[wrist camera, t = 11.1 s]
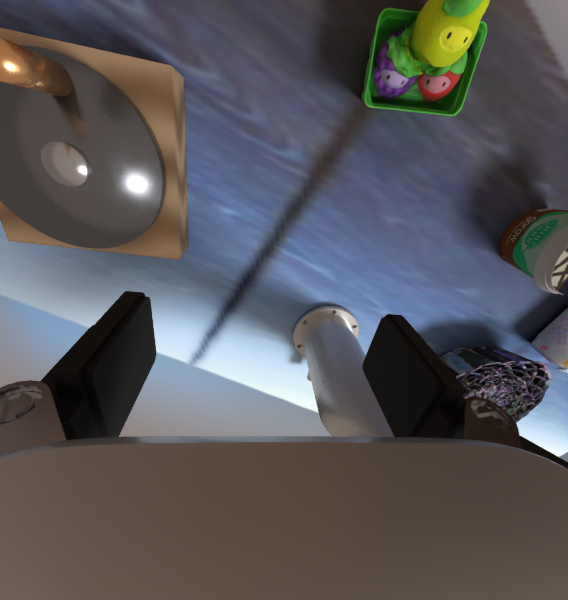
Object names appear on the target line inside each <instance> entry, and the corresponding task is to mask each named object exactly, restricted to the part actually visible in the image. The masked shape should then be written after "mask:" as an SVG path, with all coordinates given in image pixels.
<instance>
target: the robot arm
mask: <svg viewBox="0 0 568 600" xmlns="http://www.w3.org/2000/svg"><path fill="white" fill-rule="evenodd" d="M358 335H359V325H358V322H357V320H356V319H355V317H354V316H353V314H352V313H351V312H349V311H348V310H346V309H344V308H342V307H339V306H322V307H318V308H315V309H313V310H311V311H309V312H307V313H306V314H305V315H304V316H302V317H301V318H300V320H299V321H298V322H297V324H296V326H295V328H294V331H293V340H294V345H295V347H296V349H297V351H298V352H299V353H300V354H301V355H303V356H304V357H306V360H307V365H308V369H309V371H308V375H307V379H308V380H309V381H311V382H312V386H313V390H314V394H315V399H316V403H317V407H318V411H319V415H320V418H321V421H322V423H323V425H324V427H325V428H326V430H327V431H328V432H329V433H330V434H331V435H332V436H333V437H330V436H329V437H328V436H327V437H326V436H325V437H324V436H323V437H322V436H145V437H119V435H120V433H121V430H122V428H123V426H124V424H125V422H126V420H127V418H128V416H129V414H130V412H131V410H132V407H133V405H134V403H135V401H136V399H137V397H138V395H139V393H140V391H141V389H142V387H143V384H144V382H145V380H146V378H147V376H148V374H149V372H150V370H151V368H152V366H153V364H154V361H155V358H156V346H155V337H154V328H153V320H152V311H151V302H150V298H149V297H145V294H144V293H142V292H130V291H126V292H124V293H123V294H122V295H121V296H120V298H119V299H118V300H117V301H116V302H115V303H114V304H113V305H112V306H111V307H110V308H109V310H108V311H107V312H106V313H105V314H104V315H103V316H102V317H101V318H100V319H99V320H98V322H97V323H96V324H95V325H93V326H92V327H90V328H89V329H88V330H87V331H86V332H85V334H84V335H83V336H82V337H81V338H80V339H79V340H78V341H77V342H76V343H75V344H74V345H73V347H72V348H71V349H70V350H69V351H68V352H67V353H66V354H65V355H64V356H63V357H62V358H61V359H60V361H59V362H58V363H57V364H56V365H55V366H54V367H53V368H52V369H51V370H50V371H49V372H48V373H47V375H46V376H45V377H44V378H43V379H42V380H41V381H21V382H16V383H12V384H8V385H6V386H3V387H1V388H0V600H568V462H566V461H564V460H563V459H561V458H559V457H557V456H555V455H554V454H552V453H550V452H548V451H547V450H545V449H543V448H541V447H539V446H538V445H536V444H534V443H532V442H531V441H529V440H527V439H525V438H523V437H522V436H520V435H519V431H518V427H517V424H516V422H515V421H514V420H513V418H512V417H511V416H510V415H509V414H508V413H507V412H506V411H505V410H504V409H502V408H501V407H500V406H498V405H497V404H495V403H493V402H492V401H490V400H487V399H485V398H482V397H478V396H470V397H468V398H467V399H465V398H464V397H463V394H464V392H465V391H466V390H467V389H466V388H465V387H464V386H463V385H462V384H461V382H460V381H459V380H458V379H457V378H456V377H455V376H454V374H453V373H452V372H451V371H450V370H449V369H448V367H447V366H446V365H445V364H444V363H443V362H442V361H441V359H440V358H439V357H438V356H437V355H436V354H435V353H434V351H433V350H432V349H431V348H430V347H429V346H428V345H427V343H426V342H425V341H424V340H423V339H422V338H421V336H420V335H419V334H418V333H417V332H416V331H415V330H414V328H413V327H412V326H411V325H410V324H409V323H408V322H407V320H406V319H405V318H404V317H403V316H402V315H392V314H388V315H386V316H385V317H383V318H382V319H381V321H380V323H379V326H378V328H377V330H376V333H375V335H374V338H373V340H372V342H371V345H370V347H369V350H368V352H367V354H366V356H365V354H364V352H363V350H362V348H361V346H360V344H359V342H358V340H357V339H358Z"/></svg>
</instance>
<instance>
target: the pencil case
mask: <svg viewBox="0 0 568 600" xmlns="http://www.w3.org/2000/svg"><path fill="white" fill-rule="evenodd" d="M531 346H532V347H533V348H534V349H535V350H536V351H537V352H538V353H540V354H541V355H542V356H543V357H545V358H546V359H547V360H549V361H550V362H552V363H553V364H555V365H557V366H559V367H561V368H557V369H559V370H561V371H563V372H565V373H568V307H567V309H566V310H564V311H563V312H562V313H561V314H560V315H559V316H558V317H557V318H556V319H555V320H553V321H552V322H551V323H550V324H549V325H548V326H547V327H546V328H545V329H544V330H543V331H541V332H540V333H539V334H538V335H537V337H536V338H535V339H534V340H533V341H532V343H531Z"/></svg>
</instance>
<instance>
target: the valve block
mask: <svg viewBox="0 0 568 600" xmlns="http://www.w3.org/2000/svg"><path fill="white" fill-rule="evenodd" d="M0 37H1V38H4V39H6V40H8V41H10V42H13V43H15V44H17V45H26V46H37V47H42V48H46V49H51V50H54V51H57V52H59V53H62V54H65V55H67V56H69V57H71V58H73V59H76V60H78V61H80V62H82V63H83V64H85V65H87V66H89V67H91V68H93V69H95V70H96V71H98V72H99V73H101V74H102V75H104V76H105V77H107V78H108V79H109V80H110V81H111V82H113V83H114V84H115V85H116V86H118V87H119V88H120V89H121V90H122V91H123V92H124V93H125V94H126V95H127V96H128V97H129V98H130V99H131V101H132V102H133V103H134V104H135V105H136V107H137V108H138V109H139V110H140V112H141V113H142V115H143V116H144V118H145V119H146V121H147V122H148V124H149V126H150V127H151V129H152V131H153V133H154V135H155V137H156V139H157V142H158V144H159V147H160V149H161V153H162V156H163V159H164V164H165V170H166V183H167V184H166V195H165V200H164V204H163V207H162V209H161V212H160V214H159V216H158V217H157V219H156V221H155V222H154V223H153V224H152V225H151V227H150V228H149V229H147V230H146V231H145V232H144V233H143V234H141V235H140V236H139V237H137V238H136V239H134V240H132V241H131V242H128V243H126V244H124V245H120V246H117V247H112V248H104V249H93V248H84V247H79V246H74V245H70V244H67V243H64V242H61V241H58V240H56V239H54V238H51V237H49V236H47V235H45V234H43V233H41V232H40V231H38V230H36V229H34V228H33V227H31V226H30V225H28V224H27V223H25V222H24V221H23V220H21V219H20V218H19V217H18V216H16V215H15V214H14V213H13V212H12V211H10V210H9V209H8V208H7V207H6V206H5V205H4V204H3V203H2V202H1V201H0V220H1V223H2V225H3V228H4V231H5V233H6V236H7V239H8V241H14V242H23V243H32V244H42V245H51V246H60V247H69V248H78V249H88V250H97V251H106V252H115V253H124V254H133V255H143V256H152V257H161V258H170V259H179V260H180V259H181V257H182V256H183V254H184V253H185V251H186V250H187V248H188V217H187V179H186V141H185V103H184V77H183V76H182V75H180V74H179V73H178V72H177V71H176V70H175V69H174V68H173V67H172V66H171V65H167V64H162V63H157V62H153V61H148V60H144V59H139V58H135V57H130V56H126V55H121V54H117V53H112V52H108V51H103V50H99V49H94V48H90V47H85V46H81V45H76V44H72V43H67V42H63V41H58V40H54V39H49V38H45V37H40V36H35V35H31V34H26V33H22V32H17V31H13V30H8V29H4V28H0Z"/></svg>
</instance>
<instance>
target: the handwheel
mask: <svg viewBox="0 0 568 600" xmlns="http://www.w3.org/2000/svg"><path fill="white" fill-rule="evenodd" d="M166 184H167V183H166V170H165V164H164V159H163V156H162V153H161V149H160V147H159V144H158V142H157V139H156V137H155V135H154V133H153V131H152V129H151V127H150V126H149V124H148V122H147V121H146V119H145V118H144V116H143V115H142V113H141V112H140V110H139V109H138V108H137V107H136V105H135V104H134V103H133V102H132V101H131V99H130V98H129V97H128V96H127V95H126V94H125V93H124V92H123V91H122V90H121V89H120V88H119V87H118V86H116V85H115V84H114V83H113V82H111V81H110V80H109V79H108V78H107V77H105V76H104V75H102V74H101V73H99V72H98V71H96V70H95V69H93V68H91V67H89V66H87V65H85V64H83V63H82V62H80V61H78V60H76V59H73V58H71V57H69V56H67V55H65V54H62V53H59V52H57V51H54V50H51V49H46V48H42V47H37V46H26V45H17V44H15V43H13V42H10V41H8V40H6V39H4V38H1V37H0V201H1V202H2V203H3V204H4V205H5V206H6V207H7V208H8V209H9V210H10V211H12V212H13V213H14V214H15V215H16V216H18V217H19V218H20V219H21V220H23V221H24V222H25V223H27V224H28V225H30V226H31V227H33V228H34V229H36V230H38V231H40V232H41V233H43V234H45V235H47V236H49V237H51V238H54V239H56V240H58V241H61V242H64V243H67V244H70V245H74V246H79V247H84V248H93V249H104V248H112V247H117V246H120V245H124V244H126V243H128V242H131V241H132V240H134V239H136V238H137V237H139V236H140V235H141V234H143V233H144V232H145V231H146V230H147V229H149V228H150V227H151V225H152V224H153V223H154V222H155V221H156V219H157V217H158V216H159V214H160V212H161V209H162V207H163V204H164V200H165V195H166Z"/></svg>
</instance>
